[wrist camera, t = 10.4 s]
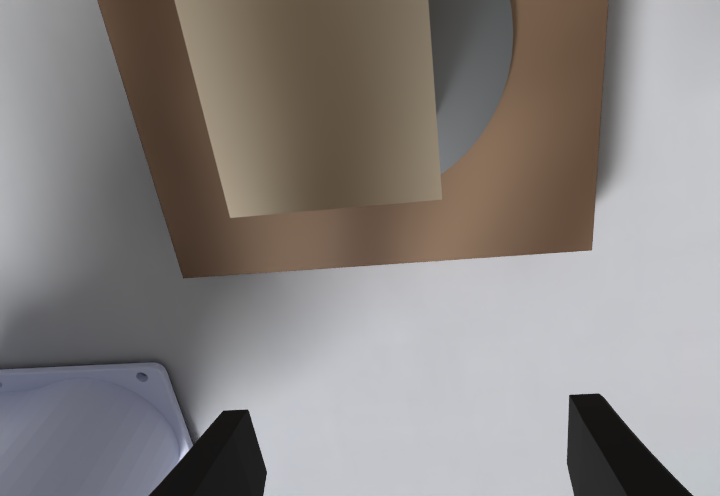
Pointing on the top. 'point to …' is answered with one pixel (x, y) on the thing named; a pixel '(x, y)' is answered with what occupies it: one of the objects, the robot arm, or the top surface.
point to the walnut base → (455, 139)
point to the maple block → (316, 101)
